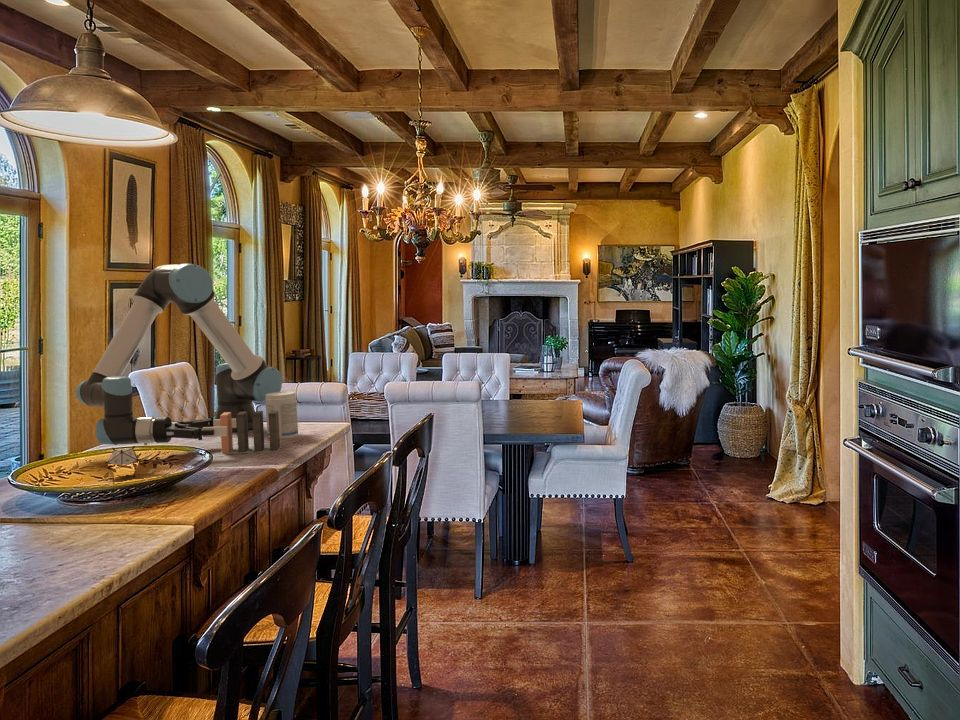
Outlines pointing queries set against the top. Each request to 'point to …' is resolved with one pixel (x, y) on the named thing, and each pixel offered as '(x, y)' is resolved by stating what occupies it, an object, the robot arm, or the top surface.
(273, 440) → the domino
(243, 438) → the domino
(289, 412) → the supplement tub
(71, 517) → the top surface
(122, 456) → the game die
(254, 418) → the domino
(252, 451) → the runner board
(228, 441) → the domino
